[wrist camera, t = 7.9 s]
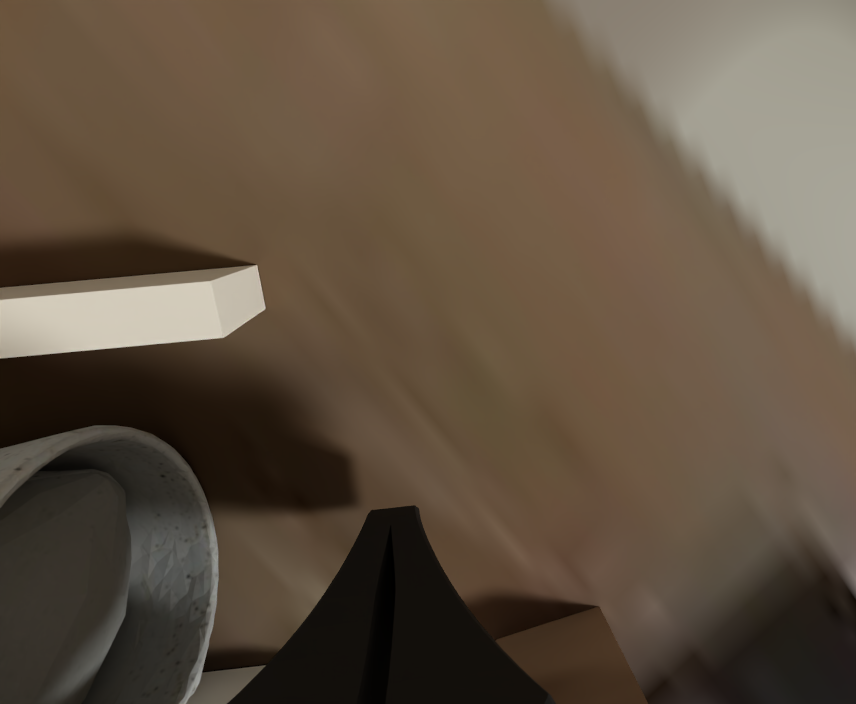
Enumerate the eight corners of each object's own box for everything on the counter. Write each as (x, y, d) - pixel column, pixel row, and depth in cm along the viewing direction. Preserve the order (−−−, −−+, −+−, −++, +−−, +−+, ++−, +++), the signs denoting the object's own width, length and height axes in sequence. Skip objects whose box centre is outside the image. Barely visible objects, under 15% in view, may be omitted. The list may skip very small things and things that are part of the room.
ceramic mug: (-117, 444, 13) (-803, 760, 5) (153, 375, 13) (-189, 608, 5) (67, 690, 16) (-208, 1087, 9) (281, 638, 16) (181, 1001, 9)
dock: (339, 681, 16) (325, 779, 14) (-97, 731, 16) (-205, 843, 13) (256, 264, 12) (210, 281, 9) (-360, 319, 11) (-615, 355, 9)
